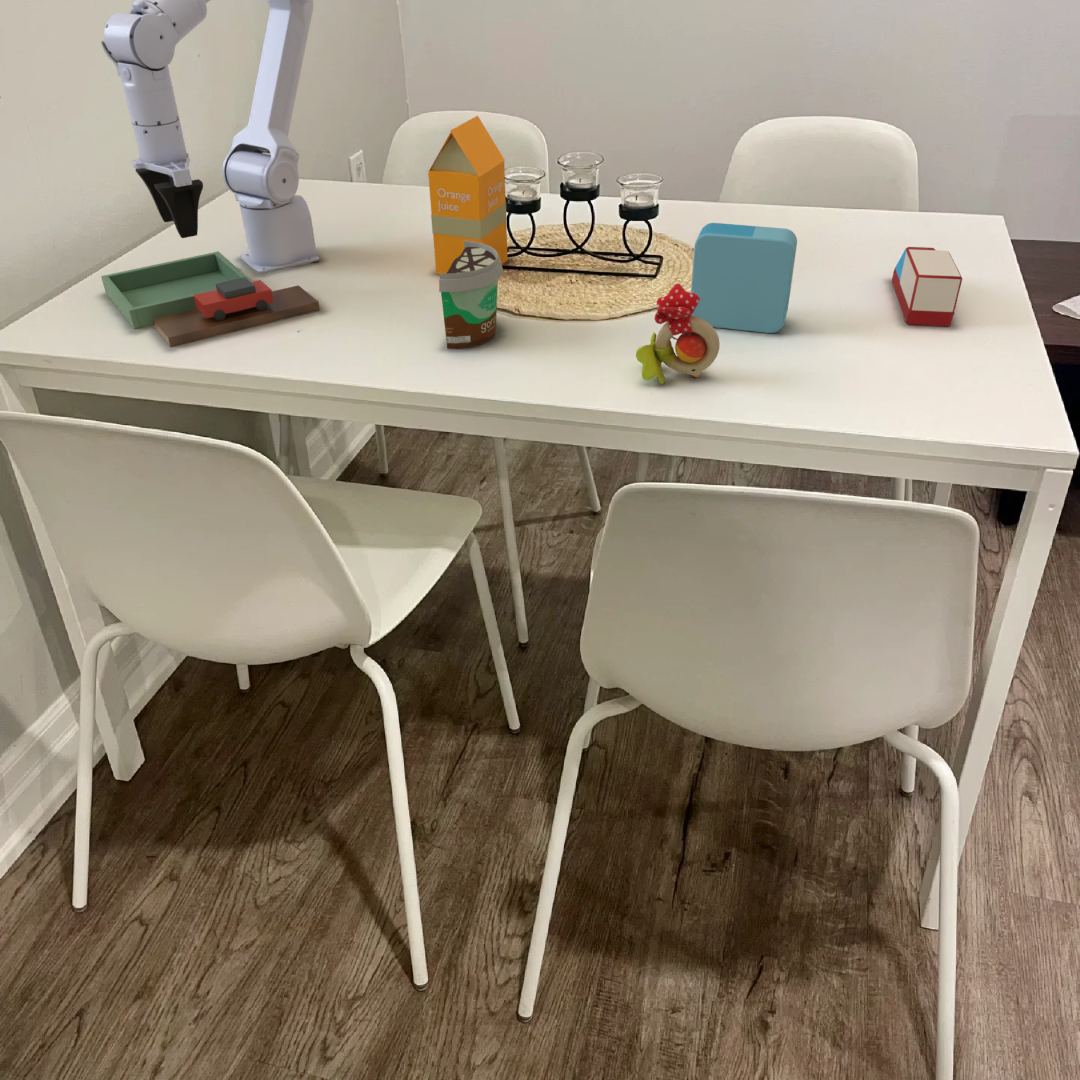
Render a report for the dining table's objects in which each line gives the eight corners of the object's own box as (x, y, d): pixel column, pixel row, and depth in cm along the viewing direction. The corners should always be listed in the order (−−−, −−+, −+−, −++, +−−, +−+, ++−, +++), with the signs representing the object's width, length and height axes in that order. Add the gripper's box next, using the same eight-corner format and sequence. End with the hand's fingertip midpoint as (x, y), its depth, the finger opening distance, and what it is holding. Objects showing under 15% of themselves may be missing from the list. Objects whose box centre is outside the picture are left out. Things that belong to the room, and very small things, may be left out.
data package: (786, 321, 129) (799, 228, 122) (782, 335, 125) (795, 241, 118) (693, 311, 132) (701, 221, 125) (688, 325, 128) (695, 232, 121)
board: (300, 295, 138) (298, 285, 137) (320, 312, 133) (318, 301, 133) (155, 329, 129) (152, 319, 129) (171, 349, 125) (168, 338, 124)
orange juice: (435, 274, 144) (423, 128, 132) (461, 253, 151) (452, 113, 139) (484, 281, 142) (477, 133, 130) (509, 259, 148) (504, 117, 136)
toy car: (263, 297, 134) (258, 272, 132) (275, 308, 131) (270, 283, 129) (197, 312, 130) (191, 287, 128) (207, 324, 127) (202, 298, 125)
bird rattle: (693, 379, 120) (626, 349, 119) (740, 301, 114) (669, 268, 113) (693, 404, 115) (623, 373, 114) (742, 324, 109) (667, 290, 108)
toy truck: (931, 283, 139) (942, 236, 135) (950, 327, 127) (963, 277, 123) (891, 281, 139) (900, 234, 135) (906, 325, 127) (917, 275, 123)
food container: (492, 357, 122) (488, 278, 116) (443, 353, 123) (437, 275, 117) (514, 316, 131) (512, 241, 125) (469, 313, 132) (465, 239, 126)
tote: (222, 269, 146) (218, 251, 145) (257, 301, 137) (253, 282, 135) (106, 295, 139) (100, 275, 138) (134, 331, 129) (129, 310, 128)
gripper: (108, 114, 128) (135, 219, 136) (139, 137, 119) (166, 249, 127) (163, 106, 131) (186, 209, 139) (197, 128, 122) (220, 238, 130)
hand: (180, 228), depth 133 cm, fingers open, 7 cm apart
